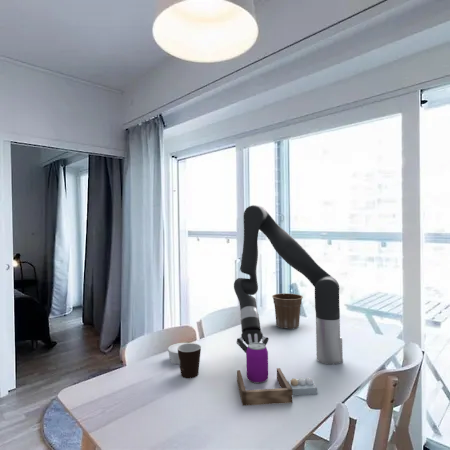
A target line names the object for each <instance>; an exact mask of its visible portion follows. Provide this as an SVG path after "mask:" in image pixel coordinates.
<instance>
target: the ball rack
mask: <svg viewBox="0 0 450 450" xmlns="http://www.w3.org/2000/svg"><path fill="white" fill-rule="evenodd" d="M286 380H287V379H286ZM287 382H288V383H289V385H290V387H291V389H292V396H304V395H317V394H318V388H317V386H316V384H315V383H314V381H313V378H310V377H307V378H306V379H305V378H302V377H301V378H299V379H296V378H292V379H288V380H287Z"/></svg>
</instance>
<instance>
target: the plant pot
mask: <svg viewBox="0 0 450 450" xmlns="http://www.w3.org/2000/svg"><path fill="white" fill-rule="evenodd" d="M271 297H272V299H273V304H274V312H275V325H276V326H277V328H281V329H289V330H294V329H297V327H298V328H299V326H300V321H301V319H300V318H301V317H300V316H301V307H302V302H303V301H302V300H303V298H304V297H303V295H300V294H297V293H286V292H285V293H275V294H272V296H271ZM293 328H294V329H293Z"/></svg>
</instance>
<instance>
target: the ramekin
mask: <svg viewBox="0 0 450 450" xmlns="http://www.w3.org/2000/svg"><path fill="white" fill-rule="evenodd" d="M187 343H188V342H179V343H174V344H171V345H169V346H168V347H167V353H168V356H169V361H170V362H171V363H172V364H173V365H179V366H180V364H179V356H178V347H179V346H180V345H182V344H187Z"/></svg>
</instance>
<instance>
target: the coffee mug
mask: <svg viewBox="0 0 450 450" xmlns="http://www.w3.org/2000/svg"><path fill="white" fill-rule="evenodd" d="M186 343H187V344H182V345H180V346H179V347H178V356H179V364H180V365H179V371H180V376H181V377H182V378H183V379H189V380H190V379H194V378H196V377H198V375H199V371H200V362H201V361H200V359H201V350H202V346H201V345H200V344H198V343H193V342H191V343H189V342H186Z"/></svg>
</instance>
